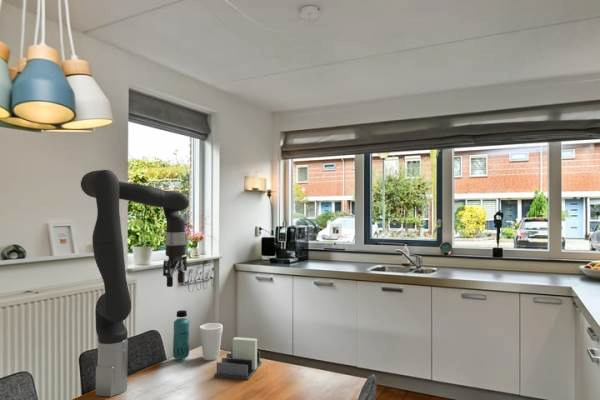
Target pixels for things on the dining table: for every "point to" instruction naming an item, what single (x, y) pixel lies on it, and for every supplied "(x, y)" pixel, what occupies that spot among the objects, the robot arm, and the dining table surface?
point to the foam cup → (211, 340)
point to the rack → (236, 367)
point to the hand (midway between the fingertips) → (175, 284)
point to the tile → (245, 350)
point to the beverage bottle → (181, 336)
